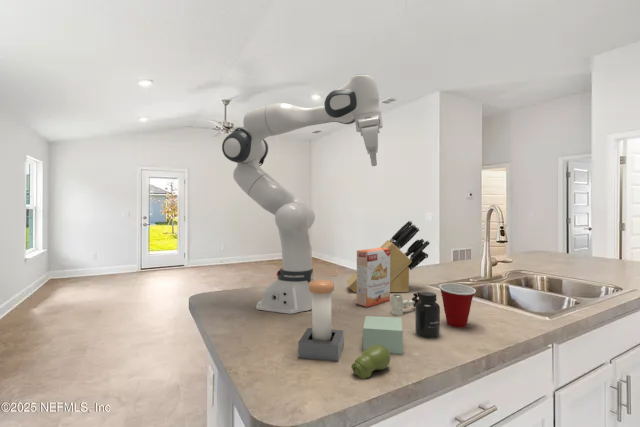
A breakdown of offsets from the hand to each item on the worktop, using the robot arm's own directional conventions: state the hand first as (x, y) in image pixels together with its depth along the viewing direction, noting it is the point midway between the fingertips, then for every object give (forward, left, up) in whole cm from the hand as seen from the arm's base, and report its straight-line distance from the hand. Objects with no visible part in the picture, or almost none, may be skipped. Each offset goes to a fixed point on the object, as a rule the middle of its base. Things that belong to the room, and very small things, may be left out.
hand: (374, 165), depth 115 cm
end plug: (-12, -31, -51) cm, 61 cm away
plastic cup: (+26, -4, -52) cm, 58 cm away
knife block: (+4, +37, -52) cm, 64 cm away
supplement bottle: (+16, -14, -52) cm, 56 cm away
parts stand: (+3, -24, -51) cm, 57 cm away
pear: (+1, -39, -52) cm, 65 cm away
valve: (+11, +6, -52) cm, 53 cm away
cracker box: (-1, +16, -52) cm, 54 cm away
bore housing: (-12, -31, -51) cm, 61 cm away
